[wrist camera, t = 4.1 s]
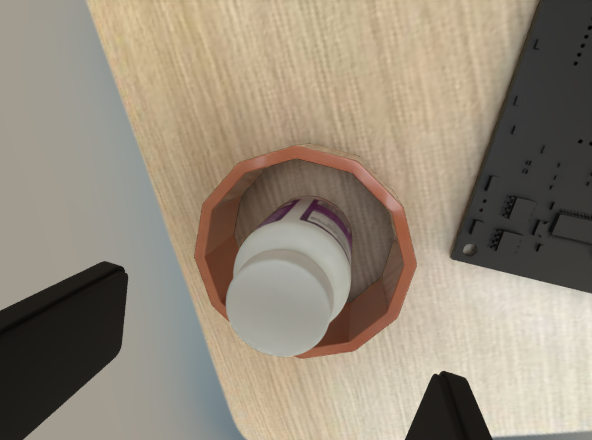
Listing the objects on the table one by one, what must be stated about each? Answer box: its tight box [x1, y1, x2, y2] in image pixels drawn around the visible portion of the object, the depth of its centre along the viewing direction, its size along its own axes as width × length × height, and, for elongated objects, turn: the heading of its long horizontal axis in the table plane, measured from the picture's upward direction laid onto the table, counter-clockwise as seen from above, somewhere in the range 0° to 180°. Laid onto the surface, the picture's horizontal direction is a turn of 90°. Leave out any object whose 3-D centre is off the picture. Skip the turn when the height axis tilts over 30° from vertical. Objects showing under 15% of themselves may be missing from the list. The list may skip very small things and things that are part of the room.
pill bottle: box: [226, 196, 352, 357], centre depth 17 cm, size 5×5×10 cm
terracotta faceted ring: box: [194, 143, 417, 359], centre depth 19 cm, size 11×11×4 cm
